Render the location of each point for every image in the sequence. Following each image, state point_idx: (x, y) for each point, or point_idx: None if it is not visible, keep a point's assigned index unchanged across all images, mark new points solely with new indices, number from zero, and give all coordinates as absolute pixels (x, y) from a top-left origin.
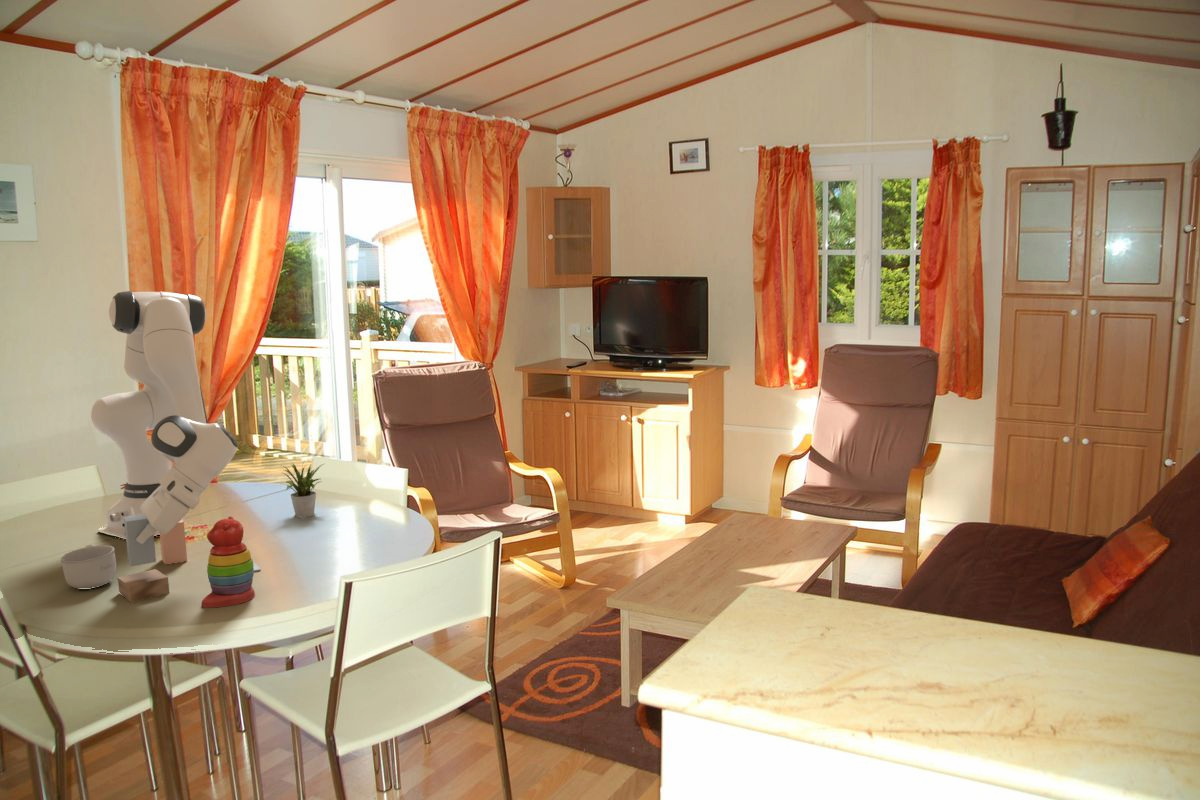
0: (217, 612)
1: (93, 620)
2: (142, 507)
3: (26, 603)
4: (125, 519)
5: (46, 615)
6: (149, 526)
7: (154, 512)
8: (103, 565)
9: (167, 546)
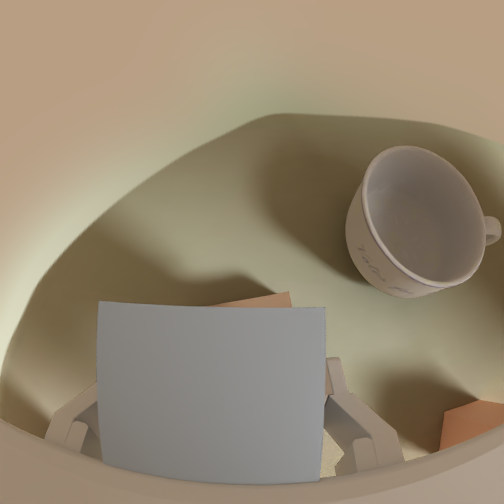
0: (33, 431)
1: (120, 224)
2: (479, 454)
3: (328, 124)
4: (191, 308)
5: (221, 147)
6: (52, 428)
7: (24, 501)
8: (367, 253)
9: (471, 429)
